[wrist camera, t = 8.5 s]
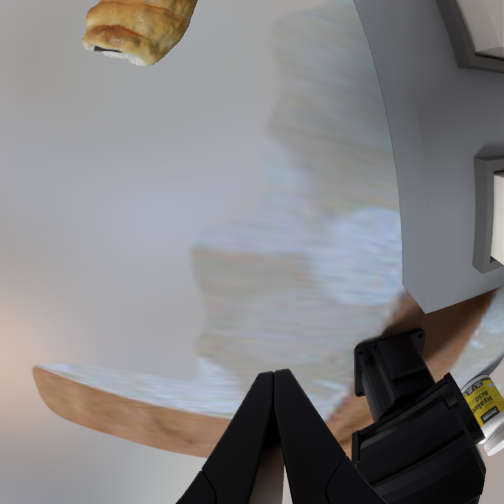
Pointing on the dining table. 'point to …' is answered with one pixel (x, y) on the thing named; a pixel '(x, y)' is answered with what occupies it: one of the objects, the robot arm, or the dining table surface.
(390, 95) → the panel
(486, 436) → the supplement bottle
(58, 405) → the dining table surface
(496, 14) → the button
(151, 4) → the pastry
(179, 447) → the dining table surface
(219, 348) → the dining table surface
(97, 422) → the dining table surface
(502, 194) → the button
